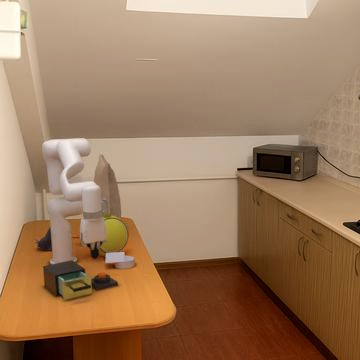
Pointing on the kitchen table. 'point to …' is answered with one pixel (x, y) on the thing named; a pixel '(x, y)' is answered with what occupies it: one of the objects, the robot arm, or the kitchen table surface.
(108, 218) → the toy
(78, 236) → the dragon figurine
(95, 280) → the control block
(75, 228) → the kitchen table surface
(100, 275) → the button
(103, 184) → the pillow
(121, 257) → the wedge on round base
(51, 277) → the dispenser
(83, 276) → the tray
